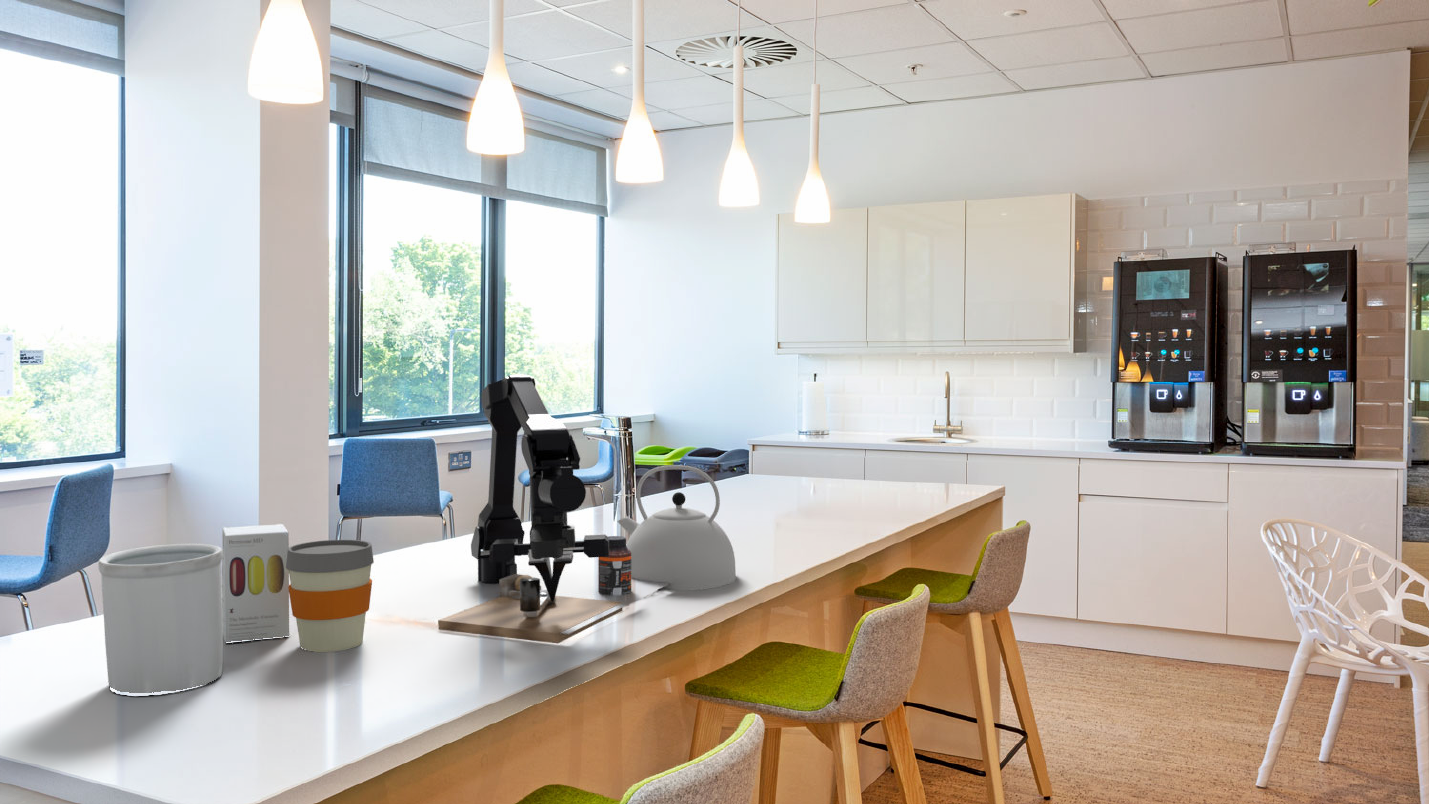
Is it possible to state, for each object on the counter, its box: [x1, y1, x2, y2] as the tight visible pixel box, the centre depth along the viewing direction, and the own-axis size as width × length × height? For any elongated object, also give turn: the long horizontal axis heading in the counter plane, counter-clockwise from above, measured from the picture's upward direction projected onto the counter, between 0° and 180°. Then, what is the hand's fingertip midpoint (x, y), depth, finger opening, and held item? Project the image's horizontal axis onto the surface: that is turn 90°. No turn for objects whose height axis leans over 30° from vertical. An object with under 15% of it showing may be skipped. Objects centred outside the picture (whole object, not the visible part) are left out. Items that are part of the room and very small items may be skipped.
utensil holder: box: [98, 543, 224, 693], centre depth 142 cm, size 15×15×18 cm
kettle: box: [617, 464, 737, 592], centre depth 208 cm, size 25×23×23 cm
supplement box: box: [221, 523, 290, 643], centre depth 165 cm, size 10×9×17 cm
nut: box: [515, 574, 533, 591], centre depth 186 cm, size 4×4×4 cm
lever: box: [520, 577, 557, 617], centre depth 176 cm, size 18×4×6 cm, turn 178°
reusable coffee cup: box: [286, 539, 375, 653], centre depth 160 cm, size 13×13×15 cm
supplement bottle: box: [597, 535, 632, 596], centre depth 189 cm, size 6×6×11 cm
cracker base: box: [437, 573, 623, 644], centre depth 176 cm, size 22×24×4 cm
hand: (552, 601), depth 169 cm, fingers closed
